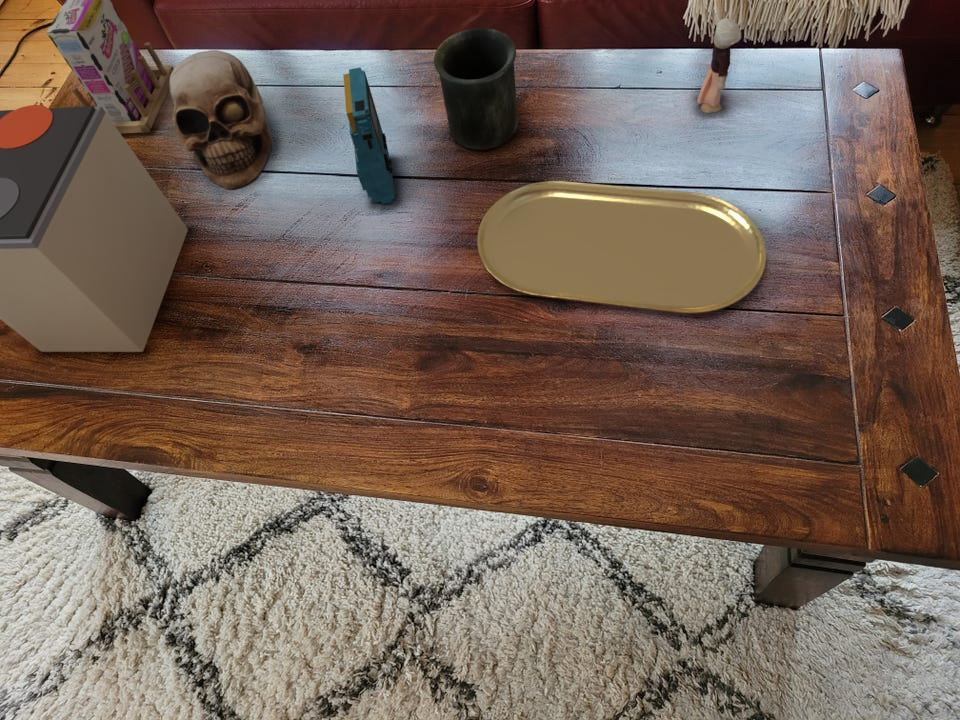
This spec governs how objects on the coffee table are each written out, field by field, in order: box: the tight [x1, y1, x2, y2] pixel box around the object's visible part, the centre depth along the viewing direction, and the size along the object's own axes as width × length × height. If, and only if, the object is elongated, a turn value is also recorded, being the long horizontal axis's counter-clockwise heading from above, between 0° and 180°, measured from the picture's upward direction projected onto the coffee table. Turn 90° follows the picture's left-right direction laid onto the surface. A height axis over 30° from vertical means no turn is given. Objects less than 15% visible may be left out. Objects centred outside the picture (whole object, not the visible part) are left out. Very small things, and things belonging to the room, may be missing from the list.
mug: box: [433, 27, 519, 151], centre depth 95 cm, size 11×15×12 cm
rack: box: [70, 41, 175, 135], centre depth 109 cm, size 10×14×7 cm
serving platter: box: [476, 180, 767, 315], centre depth 85 cm, size 19×35×2 cm, turn 77°
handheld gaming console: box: [342, 66, 396, 206], centre depth 90 cm, size 10×4×15 cm, turn 9°
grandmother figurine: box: [696, 17, 742, 114], centre depth 91 cm, size 8×4×13 cm, turn 3°
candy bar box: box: [45, 0, 155, 122], centre depth 105 cm, size 11×5×16 cm, turn 178°
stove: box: [0, 104, 189, 353], centre depth 82 cm, size 14×20×22 cm
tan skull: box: [169, 49, 273, 190], centre depth 99 cm, size 16×17×13 cm
